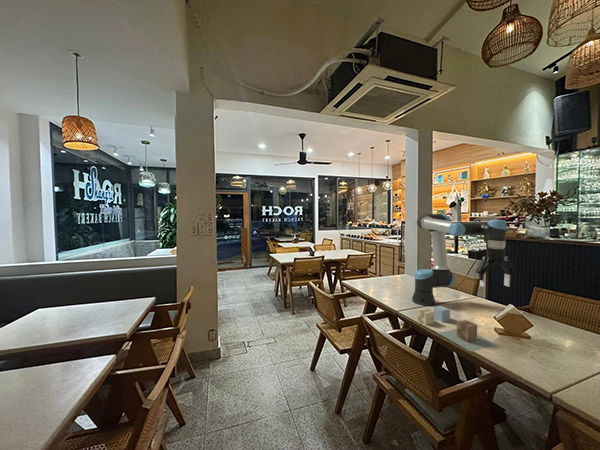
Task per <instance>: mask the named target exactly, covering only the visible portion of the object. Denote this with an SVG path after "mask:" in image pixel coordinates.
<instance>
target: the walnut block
mask: <svg viewBox="0 0 600 450" xmlns="http://www.w3.org/2000/svg"><path fill="white" fill-rule="evenodd" d="M456 329H457V337H458V338H460V339H462V340H464V341H466V342H473V341H477V335H478V324H476V323H473V322H471V321H470V320H467V319H463V320H458V321H456Z"/></svg>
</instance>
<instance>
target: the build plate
mask: <svg viewBox="0 0 600 450" xmlns="http://www.w3.org/2000/svg"><path fill="white" fill-rule="evenodd" d="M438 334H439V335H441V336H442V337H444V338H446V339H448V340H449V341H451V342H453V343H455V344H457V345H459V346H460V347H462V348H464V349H466V350H467V351H469V352H475V351H479V350H483V349H487V348H492V347H497V346H499V344H498V343H495V342H493V341H491V340H490V339H487V338H485V337H483V336H482V335H479V334H477V341H473V342H466V341H464V340H462V339H460V338H458V337H457V328H455V329H449V330H444V331H440V332H438Z"/></svg>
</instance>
